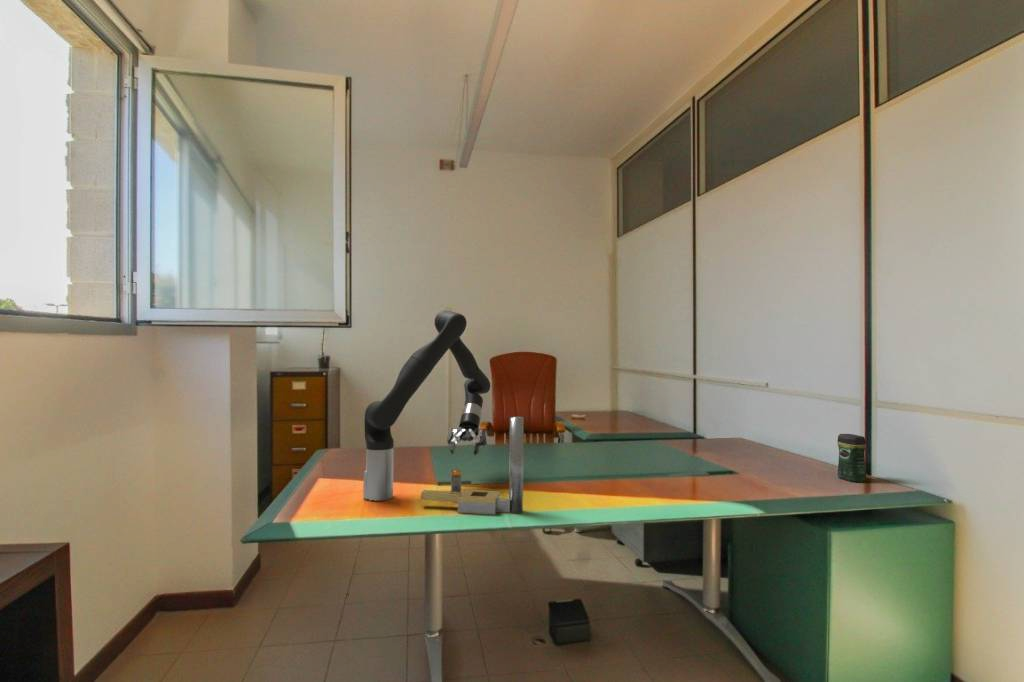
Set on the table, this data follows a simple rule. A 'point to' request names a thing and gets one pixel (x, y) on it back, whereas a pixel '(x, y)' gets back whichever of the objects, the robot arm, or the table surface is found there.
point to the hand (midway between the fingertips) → (463, 453)
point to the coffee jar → (851, 457)
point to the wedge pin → (456, 480)
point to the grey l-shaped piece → (491, 500)
